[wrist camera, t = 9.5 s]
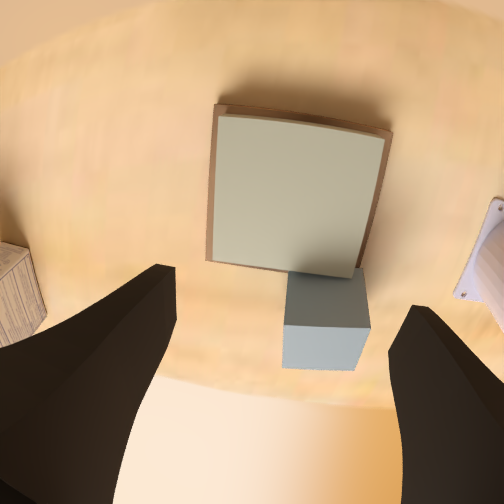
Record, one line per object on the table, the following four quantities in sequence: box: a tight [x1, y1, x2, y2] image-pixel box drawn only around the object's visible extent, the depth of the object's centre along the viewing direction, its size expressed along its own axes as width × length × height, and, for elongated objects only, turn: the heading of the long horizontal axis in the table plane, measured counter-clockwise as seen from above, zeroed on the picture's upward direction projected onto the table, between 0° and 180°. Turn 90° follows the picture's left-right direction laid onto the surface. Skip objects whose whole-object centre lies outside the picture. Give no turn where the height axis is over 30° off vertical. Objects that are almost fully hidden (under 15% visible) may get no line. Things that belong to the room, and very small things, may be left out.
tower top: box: [213, 114, 385, 279], centre depth 17 cm, size 8×8×2 cm
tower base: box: [205, 104, 393, 273], centre depth 18 cm, size 10×10×2 cm
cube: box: [282, 268, 371, 371], centre depth 19 cm, size 4×4×4 cm
